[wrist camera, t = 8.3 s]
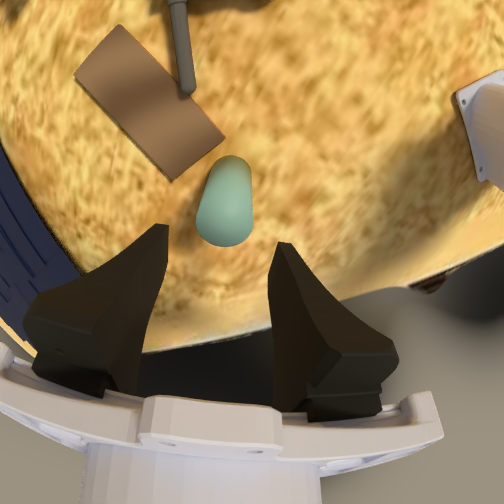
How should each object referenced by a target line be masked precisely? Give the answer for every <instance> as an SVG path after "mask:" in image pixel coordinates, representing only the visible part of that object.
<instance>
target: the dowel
mask: <svg viewBox="0 0 504 504" xmlns="http://www.w3.org/2000/svg"><path fill="white" fill-rule="evenodd" d="M195 221H196V228H197V231H198V232H199V234H200V235H201V237H202V238H203V239H204V240H206V241H207V242H209V243H211V244H213V245H216V246H220V247H230V246H235V245H238V244H240V243H242V242H243V241H244V240H245V239H247V237H248V236H249V235H250V233H251V231H252V228H253V208H252V181H251V169H250V167H249V165H248V164H247V162H246V161H245V160H243V159H242V158H240V157H237V156H231V155H230V156H224V157H222V158H220V159H218V160H217V161H216V162H215V163H214V164H213V166H212V168H211V171H210V174H209V177H208V180H207V183H206V186H205V190H204V193H203V196H202V199H201V202H200V205H199V208H198V212H197V215H196V220H195Z"/></svg>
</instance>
